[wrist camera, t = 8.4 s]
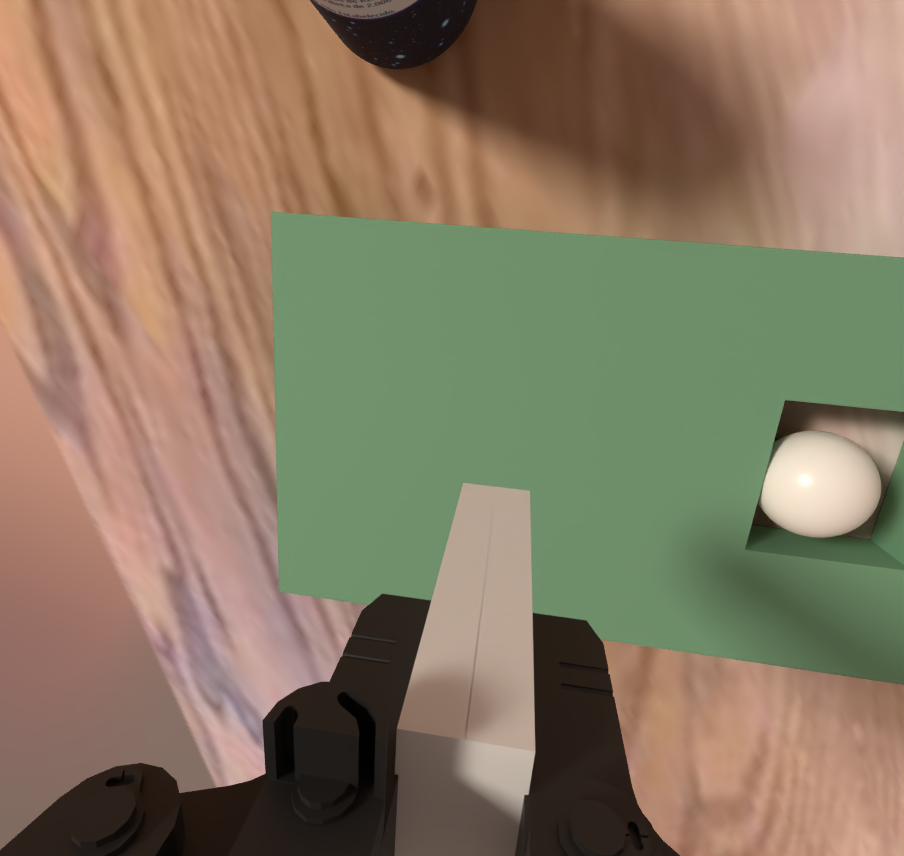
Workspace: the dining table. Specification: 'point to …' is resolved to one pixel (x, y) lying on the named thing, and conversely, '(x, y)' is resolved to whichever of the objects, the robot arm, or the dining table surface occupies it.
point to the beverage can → (397, 28)
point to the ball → (819, 484)
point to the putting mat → (585, 426)
